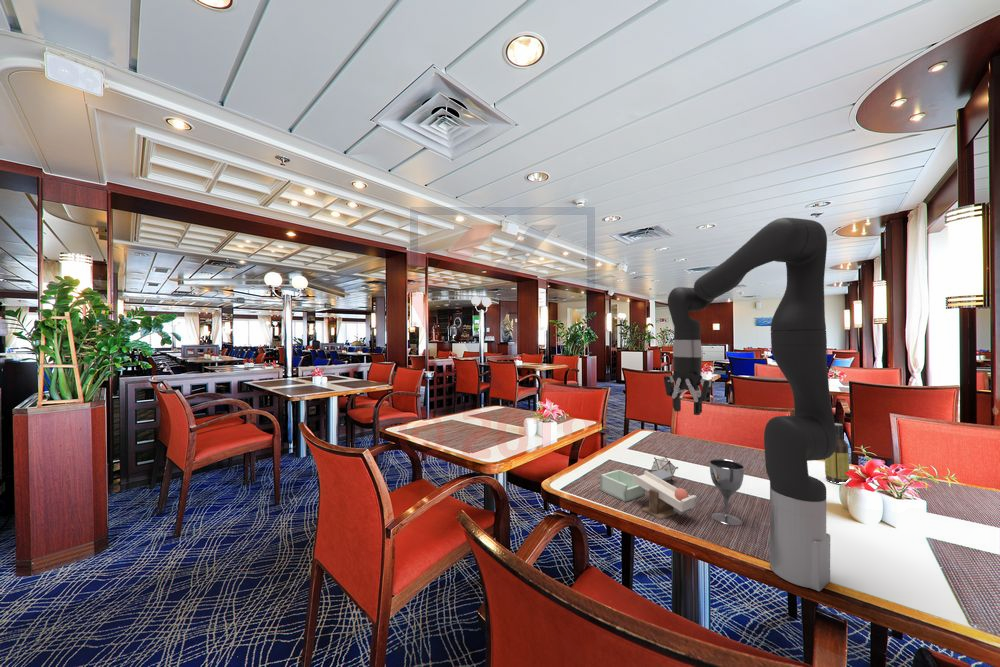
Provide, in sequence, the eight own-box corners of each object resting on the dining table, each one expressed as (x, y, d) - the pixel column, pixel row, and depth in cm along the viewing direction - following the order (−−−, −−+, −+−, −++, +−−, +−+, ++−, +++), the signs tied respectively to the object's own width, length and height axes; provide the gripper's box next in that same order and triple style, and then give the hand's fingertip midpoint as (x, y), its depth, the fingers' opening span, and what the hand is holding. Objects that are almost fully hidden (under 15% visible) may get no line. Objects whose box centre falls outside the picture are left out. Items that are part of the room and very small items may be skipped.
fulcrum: (682, 510, 105) (682, 487, 105) (660, 520, 100) (660, 496, 100) (663, 502, 110) (663, 480, 110) (641, 511, 105) (641, 488, 105)
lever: (710, 503, 104) (713, 489, 104) (681, 516, 97) (683, 501, 96) (660, 475, 118) (663, 462, 117) (631, 484, 110) (633, 471, 109)
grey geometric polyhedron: (669, 493, 125) (683, 476, 119) (644, 482, 127) (657, 465, 121) (668, 472, 132) (682, 455, 126) (645, 462, 134) (657, 445, 128)
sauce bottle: (850, 482, 126) (850, 424, 126) (849, 487, 121) (849, 427, 122) (825, 476, 130) (825, 420, 130) (823, 481, 126) (823, 423, 126)
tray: (644, 495, 115) (644, 479, 115) (625, 502, 110) (625, 485, 110) (618, 484, 123) (619, 469, 123) (600, 490, 118) (600, 474, 118)
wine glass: (727, 528, 96) (727, 470, 96) (702, 513, 103) (702, 460, 103) (751, 523, 98) (751, 467, 98) (725, 510, 105) (725, 457, 105)
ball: (689, 502, 100) (692, 491, 99) (682, 505, 98) (685, 494, 97) (677, 495, 103) (680, 484, 102) (670, 498, 101) (673, 487, 100)
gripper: (719, 356, 104) (719, 416, 104) (671, 353, 116) (671, 407, 116) (704, 357, 100) (704, 419, 100) (657, 354, 112) (657, 410, 112)
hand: (686, 412), depth 108 cm, fingers open, 5 cm apart
